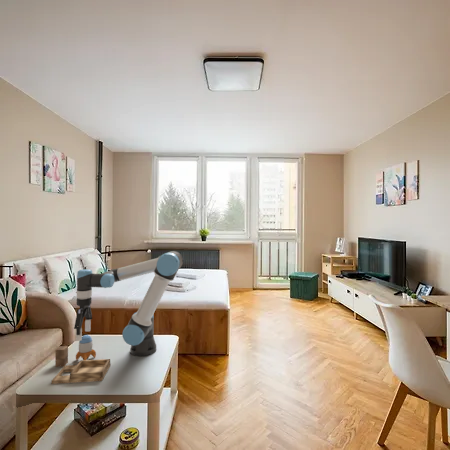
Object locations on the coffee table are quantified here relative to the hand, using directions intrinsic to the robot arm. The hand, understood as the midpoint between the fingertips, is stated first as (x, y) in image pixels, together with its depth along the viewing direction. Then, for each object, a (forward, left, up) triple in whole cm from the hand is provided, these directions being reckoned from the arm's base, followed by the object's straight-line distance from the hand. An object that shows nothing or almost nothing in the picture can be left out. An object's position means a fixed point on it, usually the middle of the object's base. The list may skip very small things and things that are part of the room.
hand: (83, 335), depth 162 cm
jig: (-5, +16, -14) cm, 22 cm away
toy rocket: (0, 0, -14) cm, 14 cm away
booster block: (+10, +4, -14) cm, 17 cm away
